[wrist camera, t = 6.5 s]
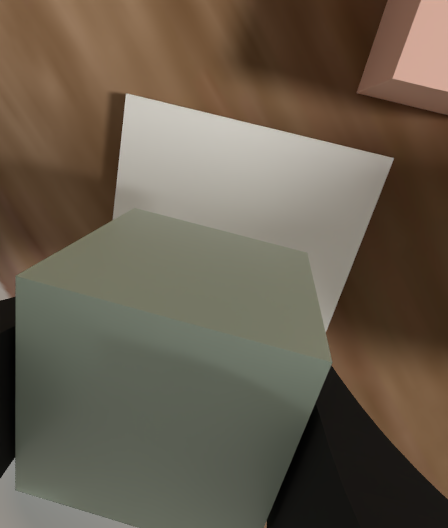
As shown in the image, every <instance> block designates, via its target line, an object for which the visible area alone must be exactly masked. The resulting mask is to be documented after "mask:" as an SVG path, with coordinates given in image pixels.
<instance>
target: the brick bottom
mask: <svg viewBox="0 0 448 528" xmlns="http://www.w3.org/2000/svg"><path fill="white" fill-rule="evenodd" d="M331 364H332V359H331V354H330V350H329V346H328V341H327V337H326V332H325V328H324V324H323V319H322V315H321V310H320V306H319V302H318V297H317V293H316V288H315V284H314V280H313V275H312V271H311V266H310V262H309V258H308V253H307V252H303V251H299V250H295V249H291V248H288V247H284V246H280V245H276V244H272V243H268V242H264V241H261V240H257V239H253V238H249V237H245V236H241V235H237V234H234V233H230V232H226V231H222V230H218V229H214V228H210V227H207V226H203V225H199V224H195V223H191V222H187V221H183V220H180V219H176V218H172V217H168V216H164V215H160V214H156V213H153V212H149V211H145V210H141V209H137V208H133V209H132V210H130V211H128V212H126V213H125V214H123V215H121V216H119V217H118V218H116V219H114V220H112V221H111V222H109V223H107V224H105V225H104V226H102V227H100V228H98V229H97V230H95V231H93V232H91V233H90V234H88V235H86V236H84V237H83V238H81V239H79V240H77V241H76V242H74V243H72V244H70V245H69V246H67V247H65V248H64V249H62V250H60V251H58V252H57V253H55V254H53V255H51V256H50V257H48V258H46V259H44V260H43V261H41V262H39V263H37V264H36V265H34V266H32V267H30V268H29V269H27V270H25V271H23V272H22V273H20V274H18V275H16V394H15V460H16V461H15V463H16V464H15V470H16V471H15V474H16V475H15V476H16V477H15V480H16V481H15V490H16V491H20V492H23V493H26V494H29V495H33V496H36V497H39V498H42V499H46V500H49V501H53V502H56V503H59V504H62V505H66V506H69V507H72V508H75V509H79V510H82V511H85V512H89V513H92V514H95V515H99V516H102V517H105V518H109V519H112V520H115V521H119V522H122V523H125V524H128V525H131V526H135V527H139V528H264V525H265V523H266V521H267V518H268V516H269V513H270V511H271V509H272V506H273V504H274V501H275V499H276V497H277V494H278V492H279V489H280V487H281V485H282V482H283V480H284V477H285V475H286V473H287V470H288V468H289V465H290V463H291V460H292V458H293V456H294V453H295V451H296V448H297V446H298V444H299V441H300V439H301V436H302V434H303V432H304V429H305V427H306V424H307V422H308V420H309V417H310V415H311V412H312V410H313V408H314V405H315V403H316V400H317V398H318V396H319V393H320V391H321V388H322V386H323V384H324V381H325V379H326V376H327V374H328V372H329V369H330V367H331Z"/></svg>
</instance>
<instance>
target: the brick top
mask: <svg viewBox="0 0 448 528" xmlns="http://www.w3.org/2000/svg"><path fill="white" fill-rule="evenodd" d="M357 93H358V94H362V95H366V96H371V97H375V98H379V99H383V100H387V101H391V102H395V103H400V104H404V105H408V106H412V107H416V108H420V109H425V110H429V111H433V112H437V113H441V114H445V115H448V0H388V1H387V4H386V7H385V9H384V12H383V15H382V18H381V21H380V24H379V27H378V30H377V33H376V36H375V39H374V42H373V45H372V48H371V51H370V54H369V57H368V60H367V63H366V66H365V69H364V72H363V75H362V78H361V81H360V84H359V87H358V90H357Z"/></svg>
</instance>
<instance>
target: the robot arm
mask: <svg viewBox="0 0 448 528" xmlns="http://www.w3.org/2000/svg"><path fill="white" fill-rule="evenodd" d="M15 394H16V297H13V298H9V299H5V300H1V301H0V478H1V477H2V475H3V473H4V472H5V471H6V469H7V468H8V466H9V465H10V464H11V462H12V461H13V460H14V458H15ZM267 528H448V499H447V498H446V497H445V496H443V495H442V494H441V493H440V492H439V491H438V490H437V489H436V488H435V487H434V486H433V485H432V484H431V483H430V482H429V481H428V480H427V479H426V478H425V477H424V476H423V475H422V474H421V473H420V472H419V471H418V470H417V469H416V468H415V467H414V466H413V465H412V464H411V463H410V462H409V461H408V460H407V459H406V458H405V456H404V455H403V454H402V453H401V452H400V451H399V450H398V449H397V448H396V447H395V446H394V445H393V444H392V443H391V441H390V440H389V439H388V438H387V437H386V436H385V435H384V433H383V432H382V431H381V430H380V429H379V428H378V426H377V425H376V424H375V423H374V421H373V420H372V419H371V418H370V417H369V415H368V414H367V413H366V412H365V410H364V409H363V408H362V407H361V405H360V404H359V403H358V402H357V400H356V399H355V398H354V396H353V395H352V394H351V392H350V391H349V390H348V388H347V387H346V385H345V384H344V383H343V381H342V380H341V379H340V377H339V376H338V374H337V373H336V371H335V370H334V368H333V367H332V366H331V367H330V369H329V372H328V374H327V376H326V379H325V381H324V384H323V386H322V388H321V391H320V393H319V396H318V398H317V400H316V403H315V405H314V408H313V410H312V412H311V415H310V417H309V420H308V422H307V424H306V427H305V429H304V432H303V434H302V436H301V439H300V441H299V444H298V446H297V448H296V451H295V453H294V456H293V458H292V460H291V463H290V465H289V468H288V470H287V473H286V475H285V477H284V480H283V482H282V485H281V487H280V489H279V492H278V494H277V497H276V499H275V501H274V504H273V506H272V509H271V511H270V513H269V516H268V518H267Z"/></svg>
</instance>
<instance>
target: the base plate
mask: <svg viewBox="0 0 448 528" xmlns="http://www.w3.org/2000/svg"><path fill="white" fill-rule="evenodd" d="M393 160H394V158H391V157H388V156H384V155H380V154H375V153H371V152H367V151H363V150H359V149H355V148H351V147H347V146H342V145H338V144H334V143H330V142H326V141H322V140H318V139H314V138H309V137H305V136H301V135H297V134H293V133H289V132H285V131H281V130H276V129H272V128H268V127H264V126H260V125H256V124H252V123H248V122H243V121H239V120H235V119H231V118H227V117H223V116H219V115H215V114H210V113H206V112H202V111H198V110H194V109H190V108H186V107H182V106H177V105H173V104H169V103H165V102H161V101H157V100H153V99H149V98H144V97H140V96H136V95H131V94H126V99H125V108H124V118H123V127H122V136H121V146H120V155H119V165H118V174H117V184H116V193H115V202H114V212H113V220H114V219H116V218H118V217H119V216H121V215H123V214H125V213H126V212H128V211H130V210H132V209H133V208H137V209H141V210H145V211H149V212H153V213H156V214H160V215H164V216H168V217H172V218H176V219H180V220H183V221H187V222H191V223H195V224H199V225H203V226H207V227H210V228H214V229H218V230H222V231H226V232H230V233H234V234H237V235H241V236H245V237H249V238H253V239H257V240H261V241H264V242H268V243H272V244H276V245H280V246H284V247H288V248H291V249H295V250H299V251H303V252H307V253H308V258H309V262H310V266H311V271H312V275H313V280H314V284H315V288H316V293H317V297H318V302H319V306H320V310H321V315H322V319H323V324H324V328H325V332H326V331H327V328H328V326H329V323H330V321H331V318H332V315H333V313H334V310H335V308H336V305H337V303H338V300H339V298H340V295H341V292H342V290H343V287H344V285H345V282H346V280H347V277H348V275H349V272H350V270H351V267H352V264H353V262H354V259H355V257H356V254H357V252H358V249H359V247H360V244H361V241H362V239H363V236H364V234H365V231H366V229H367V226H368V224H369V221H370V218H371V216H372V213H373V211H374V208H375V206H376V203H377V201H378V198H379V196H380V193H381V190H382V188H383V185H384V183H385V180H386V178H387V175H388V173H389V170H390V167H391V165H392V162H393Z"/></svg>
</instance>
